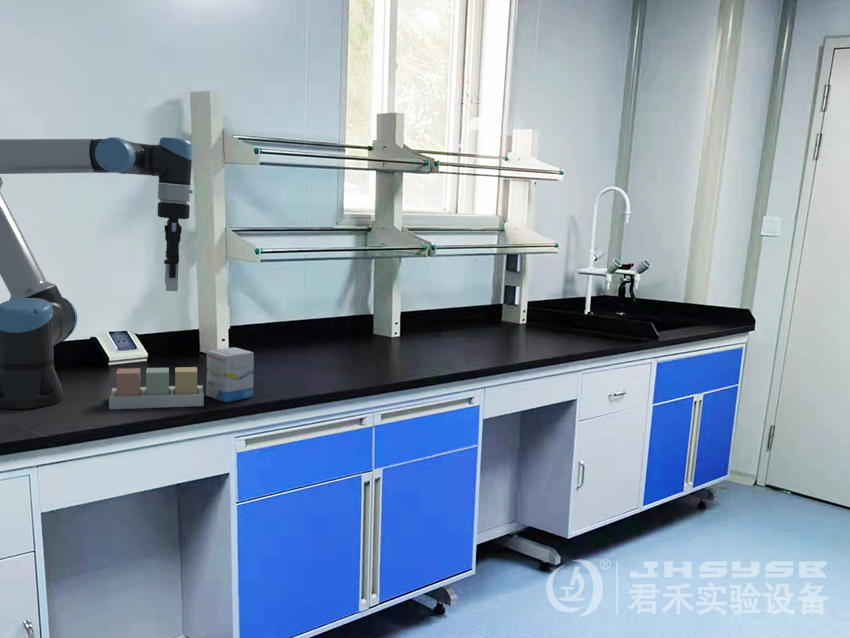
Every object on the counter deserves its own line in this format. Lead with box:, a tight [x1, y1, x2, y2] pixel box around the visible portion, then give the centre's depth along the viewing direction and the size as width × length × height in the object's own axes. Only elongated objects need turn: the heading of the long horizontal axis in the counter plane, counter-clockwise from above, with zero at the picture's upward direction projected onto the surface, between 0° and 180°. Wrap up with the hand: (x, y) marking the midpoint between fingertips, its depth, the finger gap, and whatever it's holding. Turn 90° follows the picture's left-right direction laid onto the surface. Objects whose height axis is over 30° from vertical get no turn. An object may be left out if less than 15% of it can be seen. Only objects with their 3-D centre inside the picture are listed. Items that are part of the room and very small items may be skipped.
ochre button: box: [174, 366, 198, 394], centre depth 181 cm, size 5×5×6 cm
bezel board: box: [108, 384, 205, 410], centre depth 179 cm, size 21×10×2 cm, turn 108°
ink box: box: [206, 346, 255, 403], centre depth 187 cm, size 9×8×12 cm
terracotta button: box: [115, 367, 141, 396], centre depth 177 cm, size 5×5×6 cm
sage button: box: [145, 367, 170, 395], centre depth 179 cm, size 5×5×6 cm
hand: (170, 287), depth 188 cm, fingers open, 13 cm apart
